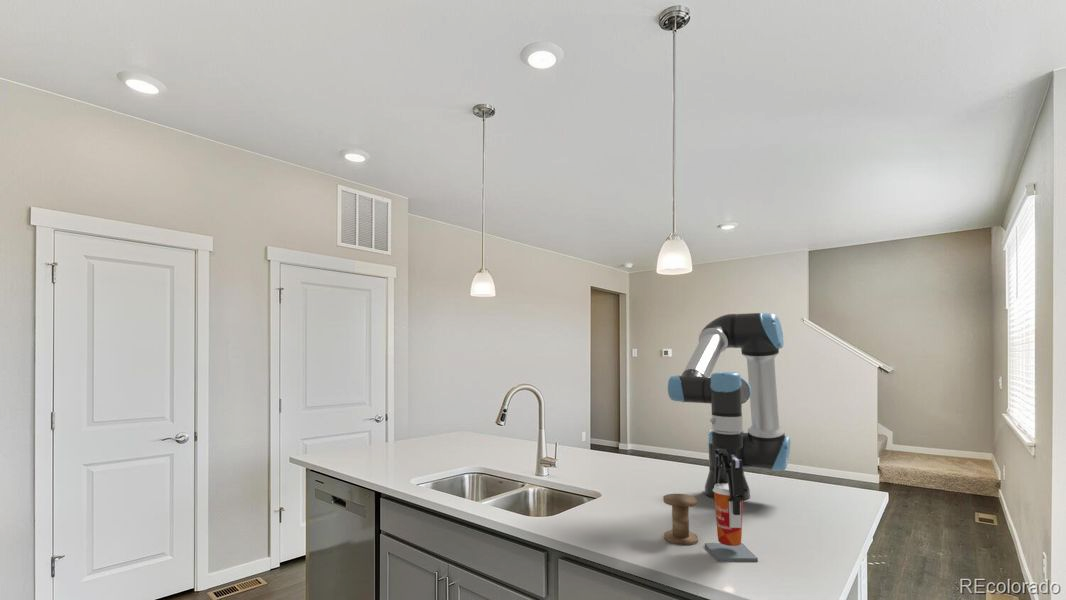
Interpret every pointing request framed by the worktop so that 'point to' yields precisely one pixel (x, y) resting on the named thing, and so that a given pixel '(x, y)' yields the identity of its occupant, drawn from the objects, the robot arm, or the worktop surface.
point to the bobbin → (680, 519)
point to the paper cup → (725, 517)
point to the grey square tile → (731, 553)
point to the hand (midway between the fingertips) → (729, 521)
